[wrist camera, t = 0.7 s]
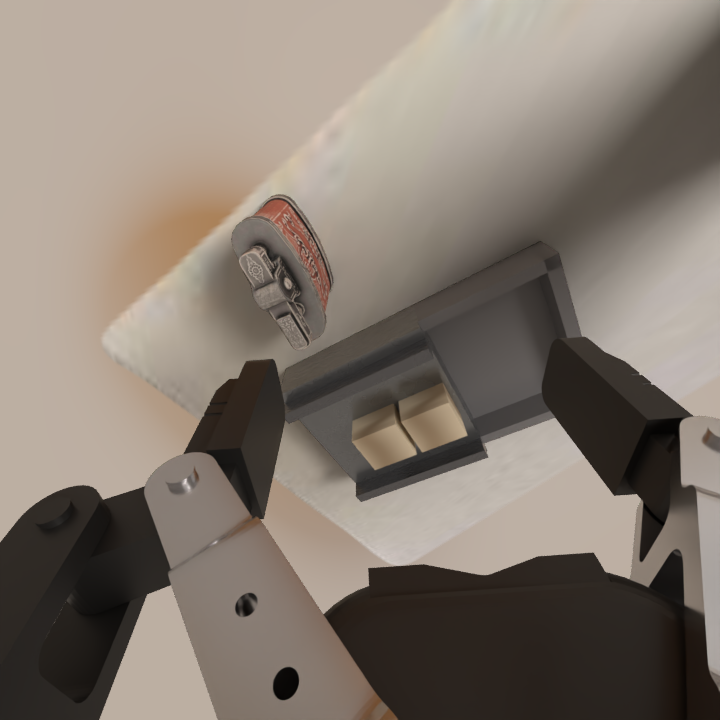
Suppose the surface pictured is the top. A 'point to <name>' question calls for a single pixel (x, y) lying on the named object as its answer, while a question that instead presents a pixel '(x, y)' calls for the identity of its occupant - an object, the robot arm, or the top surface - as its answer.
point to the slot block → (376, 400)
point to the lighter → (285, 268)
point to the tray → (502, 336)
